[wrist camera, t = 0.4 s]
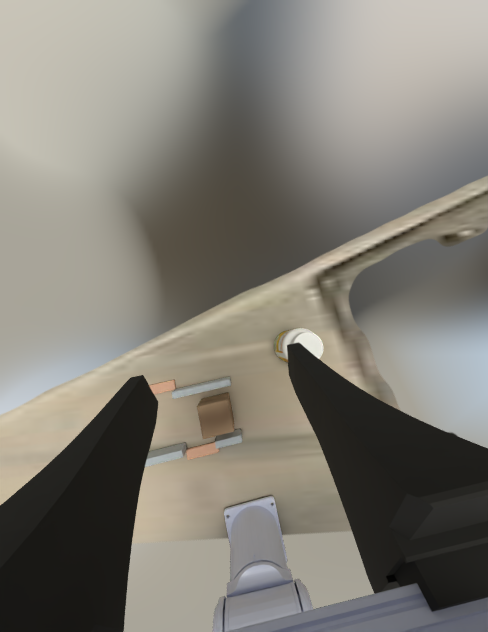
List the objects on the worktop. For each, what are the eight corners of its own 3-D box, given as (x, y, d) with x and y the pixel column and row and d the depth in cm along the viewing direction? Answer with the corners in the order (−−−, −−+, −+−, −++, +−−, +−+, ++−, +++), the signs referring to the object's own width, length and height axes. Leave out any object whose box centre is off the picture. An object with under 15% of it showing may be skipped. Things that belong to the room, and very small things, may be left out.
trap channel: (243, 444, 34) (244, 452, 32) (130, 473, 33) (122, 484, 31) (227, 367, 36) (227, 369, 33) (118, 392, 34) (109, 396, 32)
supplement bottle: (309, 352, 37) (337, 356, 27) (283, 367, 36) (301, 376, 27) (294, 325, 37) (315, 319, 28) (267, 339, 37) (280, 338, 27)
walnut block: (234, 420, 35) (234, 431, 30) (206, 426, 35) (203, 439, 30) (228, 392, 35) (227, 399, 31) (201, 398, 35) (197, 406, 31)
